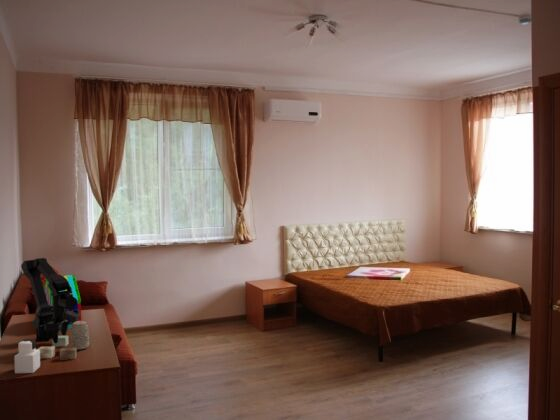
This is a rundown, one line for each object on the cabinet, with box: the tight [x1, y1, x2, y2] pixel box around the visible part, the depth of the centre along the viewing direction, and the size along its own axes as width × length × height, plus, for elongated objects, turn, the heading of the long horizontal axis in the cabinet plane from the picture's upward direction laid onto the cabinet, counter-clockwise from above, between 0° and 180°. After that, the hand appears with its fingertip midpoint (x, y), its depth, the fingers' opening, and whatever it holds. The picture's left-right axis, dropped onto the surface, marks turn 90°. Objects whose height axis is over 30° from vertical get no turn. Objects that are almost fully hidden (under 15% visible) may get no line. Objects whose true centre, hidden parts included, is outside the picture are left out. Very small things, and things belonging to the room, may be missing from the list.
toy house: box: [44, 274, 82, 329], centre depth 264 cm, size 24×14×25 cm, turn 35°
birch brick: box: [36, 345, 56, 359], centre depth 214 cm, size 6×4×4 cm, turn 92°
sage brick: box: [51, 335, 69, 347], centre depth 229 cm, size 6×4×4 cm, turn 93°
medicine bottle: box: [13, 338, 41, 374], centre depth 199 cm, size 7×7×12 cm
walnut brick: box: [59, 347, 78, 361], centre depth 213 cm, size 6×4×4 cm, turn 103°
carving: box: [70, 320, 90, 351], centre depth 224 cm, size 6×8×12 cm
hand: (60, 339), depth 229 cm, fingers open, 9 cm apart
